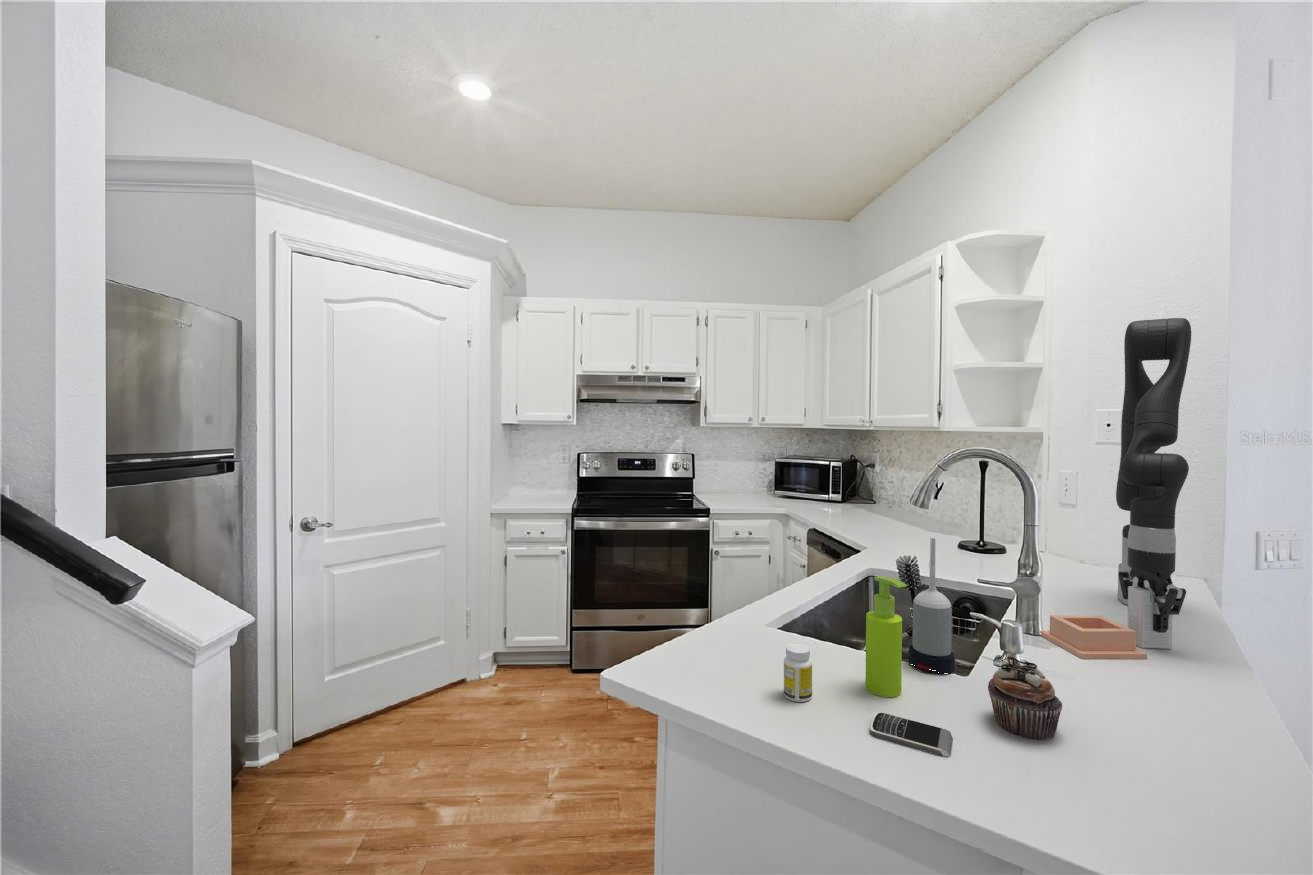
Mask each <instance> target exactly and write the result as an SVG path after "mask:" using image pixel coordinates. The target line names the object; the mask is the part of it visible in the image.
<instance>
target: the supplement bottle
mask: <svg viewBox="0 0 1313 875" xmlns="http://www.w3.org/2000/svg"><path fill="white" fill-rule="evenodd" d="M810 655H811V652H810V647H809V646H807V645H805V644H802V643H790V644H789V643H788V644H786V646H785V657H784V658H783V694H784V696H785V698H786V699H788V700H790V701H791V702H792V701H793V702H796V703H797V702H798V703H806V702H809V701H810V700H811V699H812V698H813V661H812V659H811V658H810V657H811V656H810Z"/></svg>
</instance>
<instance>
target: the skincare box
mask: <svg viewBox="0 0 1313 875" xmlns="http://www.w3.org/2000/svg"><path fill="white" fill-rule="evenodd" d="M1156 598H1157V599H1164V598H1165V595H1164V596H1160V597H1156ZM1160 608H1161V609H1163V603H1160ZM1172 608H1173V606H1172ZM1154 614H1155V613H1154V609H1153V604H1152V603H1151V602H1150V592H1149V591H1147V590H1146V589H1143V588H1141V587H1135V586H1128V605H1127V628H1130V629H1132V630H1134V631H1136V647H1139V648H1140V649H1141V648H1142V649H1166V650H1169V649H1173V615H1169V617H1168V630H1167V631H1166V632H1165V633H1158V632H1156V631H1154V630H1153V619H1154Z"/></svg>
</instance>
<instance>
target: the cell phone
mask: <svg viewBox="0 0 1313 875" xmlns="http://www.w3.org/2000/svg"><path fill="white" fill-rule="evenodd" d="M869 727H870V734H871V736H874V737H876V738H879V739H882V740H886V741H889V742H892V743H895V744H900V745H903V746H907V747H910V748H912V749H913V748H914V749H917V750H921V751H925V752H927V753H930V754H935V755H938V756H942V757H951V756H952V749H953V745H954V744H953V743H954V738H953V736H952V733H951V731H950V730H949V729H946V728H943V727H939V726H934V725H930V724H926V723H923V722H920V721H919V722H918V721H915V720H911V719H909V718H904V717H900V716H897V715H893V714H889V713H885V712H877V713H876V714H874V716H873V717H872V719H871V721H870V726H869Z"/></svg>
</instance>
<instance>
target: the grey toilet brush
mask: <svg viewBox="0 0 1313 875" xmlns="http://www.w3.org/2000/svg"><path fill="white" fill-rule="evenodd" d="M929 542H930V545H929V554H930V555H929V564H928V565H929V566H928V567H929V587H928V588H927V589H925V590H923V591H920V592H919V593H918V594H917V595H915V597H914V598H913V603H912V642H911V643H912V644H910V645H909V647H908V651H907V654H908V656H907V657H908V660H907V661H908V665H910V664H913V665H910V667H912V668H914V669H915V670H916V671H920V672H923V673H926V674H931V675H937V676H947V675H951V674H953V673H955V671H956V656H955V652H953V650H952V626H953V624H952V621H953V616H952V615H953V608H952V603H951V602H950V600H949V599H948V598H947V597H946V595H945V594H943V593H942V592H939V591H938V589H937V586H936V537H930V540H929ZM914 665H915V666H914ZM929 669H931V670H929ZM932 670H936V671H932ZM938 672H939V673H938ZM944 673H948V674H944Z"/></svg>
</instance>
